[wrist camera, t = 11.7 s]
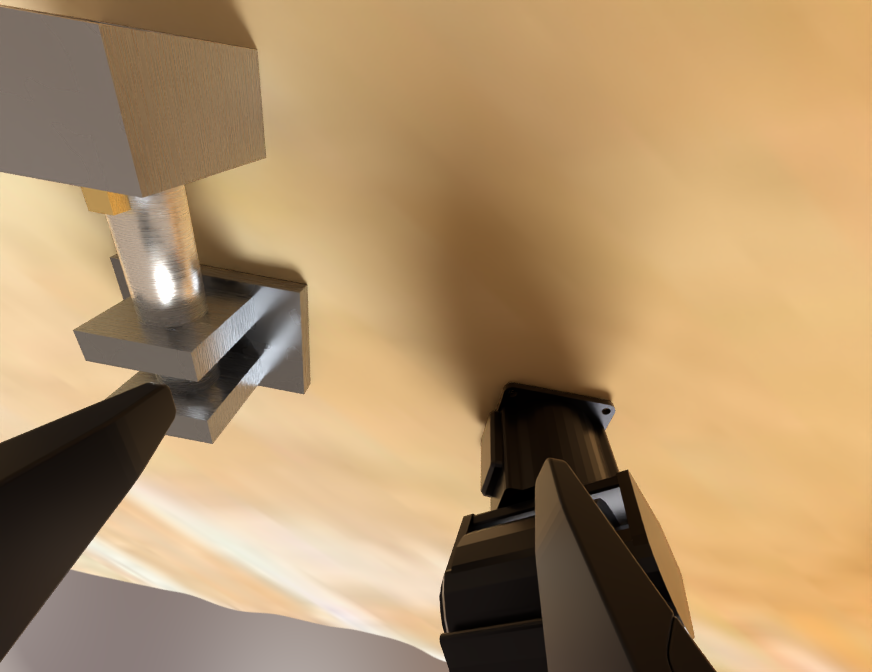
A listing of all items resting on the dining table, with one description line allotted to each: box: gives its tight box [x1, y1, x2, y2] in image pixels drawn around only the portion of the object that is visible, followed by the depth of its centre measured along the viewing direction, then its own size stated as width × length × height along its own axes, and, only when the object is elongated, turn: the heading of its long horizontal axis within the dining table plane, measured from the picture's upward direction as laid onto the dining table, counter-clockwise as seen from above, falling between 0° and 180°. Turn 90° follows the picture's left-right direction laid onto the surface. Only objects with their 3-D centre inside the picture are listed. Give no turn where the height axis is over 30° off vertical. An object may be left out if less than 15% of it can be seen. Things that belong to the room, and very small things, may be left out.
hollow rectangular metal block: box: [0, 5, 266, 198], centre depth 13 cm, size 6×4×8 cm, turn 82°
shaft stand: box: [65, 17, 310, 444], centre depth 18 cm, size 10×17×6 cm, turn 172°
